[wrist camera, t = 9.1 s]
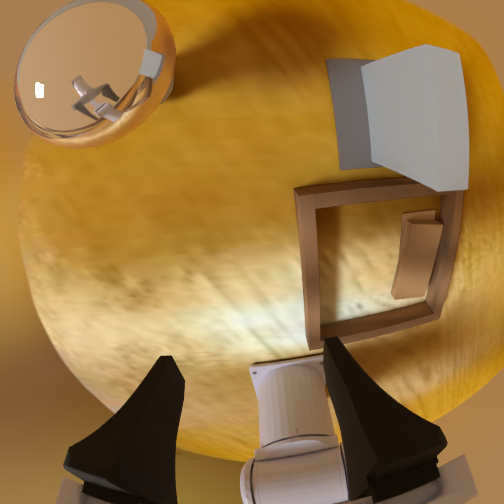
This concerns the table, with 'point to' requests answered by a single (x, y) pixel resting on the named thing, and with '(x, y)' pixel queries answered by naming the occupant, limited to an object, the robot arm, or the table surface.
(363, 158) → the mat
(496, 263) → the table surface
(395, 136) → the light grey slab
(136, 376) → the table surface
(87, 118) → the light bulb
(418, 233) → the offcut upper
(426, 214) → the offcut lower
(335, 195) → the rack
